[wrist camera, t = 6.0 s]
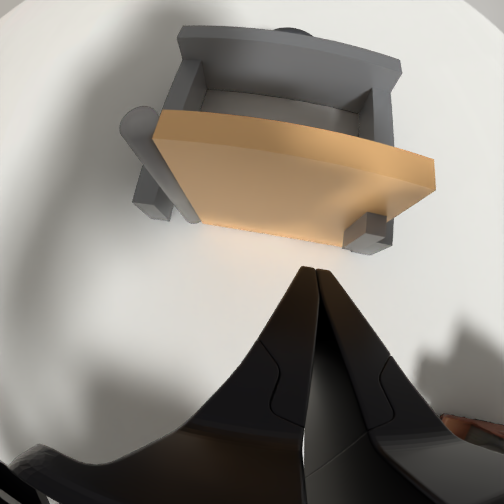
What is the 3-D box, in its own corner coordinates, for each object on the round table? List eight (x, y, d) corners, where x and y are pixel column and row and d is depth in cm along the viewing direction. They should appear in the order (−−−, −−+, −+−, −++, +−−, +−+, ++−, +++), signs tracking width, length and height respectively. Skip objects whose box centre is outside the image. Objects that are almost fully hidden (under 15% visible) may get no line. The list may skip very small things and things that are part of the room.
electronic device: (435, 408, 15) (509, 445, 8) (508, 423, 15) (568, 445, 7) (405, 465, 14) (462, 520, 7) (483, 470, 14) (537, 502, 6)
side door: (344, 262, 16) (436, 216, 7) (179, 234, 17) (106, 161, 8) (348, 228, 17) (433, 156, 8) (186, 201, 17) (127, 106, 8)
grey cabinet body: (370, 255, 17) (411, 237, 12) (150, 218, 17) (115, 187, 12) (373, 92, 19) (397, 47, 14) (199, 64, 19) (189, 15, 14)
